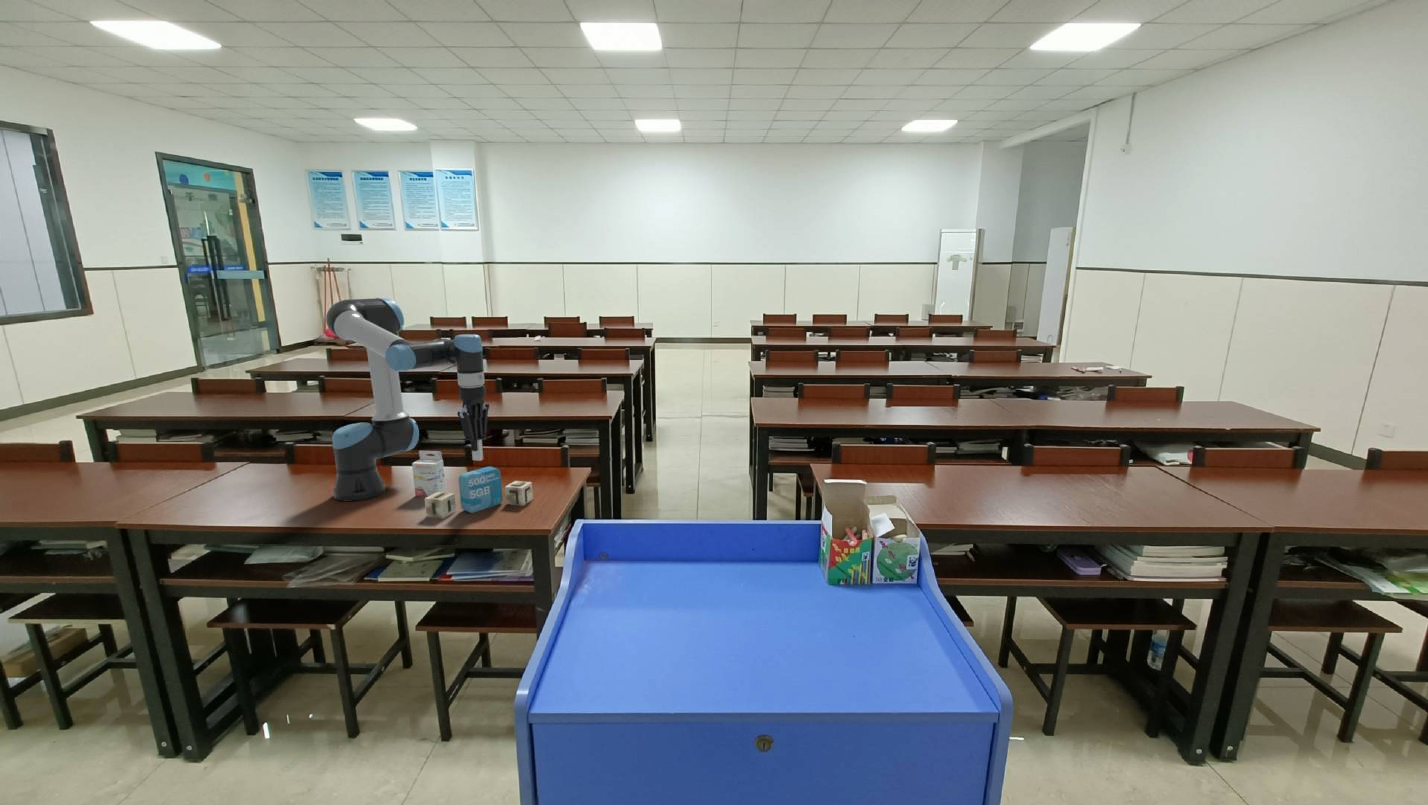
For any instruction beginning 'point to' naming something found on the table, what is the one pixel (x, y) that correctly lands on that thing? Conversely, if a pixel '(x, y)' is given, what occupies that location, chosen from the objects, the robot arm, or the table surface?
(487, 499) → the data package
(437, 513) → the maple block one
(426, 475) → the ink cartridge box
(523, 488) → the maple block seven
